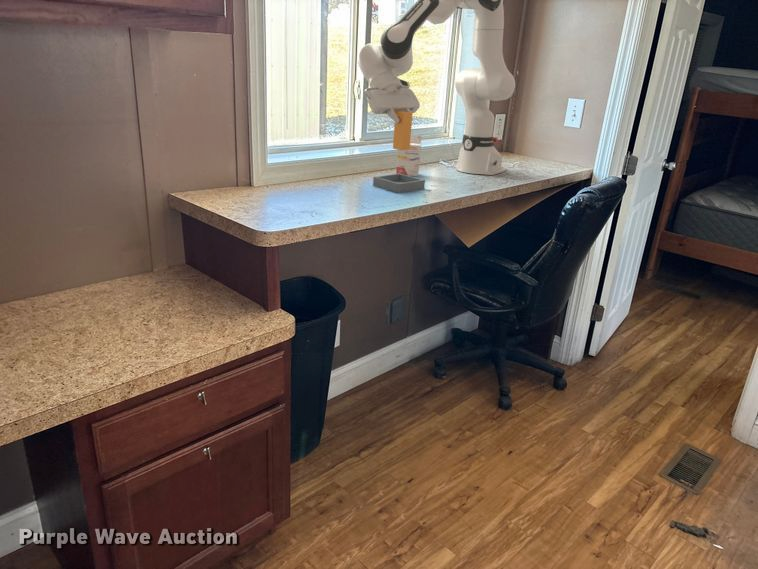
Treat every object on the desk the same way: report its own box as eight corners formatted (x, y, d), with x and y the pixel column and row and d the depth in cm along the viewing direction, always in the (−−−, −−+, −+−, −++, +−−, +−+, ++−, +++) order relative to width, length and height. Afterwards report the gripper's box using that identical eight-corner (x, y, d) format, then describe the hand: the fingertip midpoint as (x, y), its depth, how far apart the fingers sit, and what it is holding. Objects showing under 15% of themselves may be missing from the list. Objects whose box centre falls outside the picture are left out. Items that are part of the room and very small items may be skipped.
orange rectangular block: (401, 147, 191) (403, 111, 187) (409, 149, 188) (412, 112, 184) (392, 148, 188) (395, 111, 184) (401, 150, 186) (404, 112, 181)
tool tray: (398, 181, 202) (399, 173, 201) (424, 188, 194) (425, 180, 192) (372, 185, 194) (373, 176, 192) (398, 193, 185) (399, 184, 184)
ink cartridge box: (395, 174, 213) (398, 135, 207) (396, 172, 218) (399, 133, 212) (418, 176, 213) (421, 136, 207) (418, 174, 217) (422, 135, 211)
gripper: (367, 81, 178) (387, 116, 176) (411, 82, 192) (430, 115, 189) (358, 94, 183) (376, 129, 180) (401, 94, 196) (419, 127, 194)
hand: (404, 122), depth 185 cm, fingers closed on orange rectangular block, 4 cm apart
